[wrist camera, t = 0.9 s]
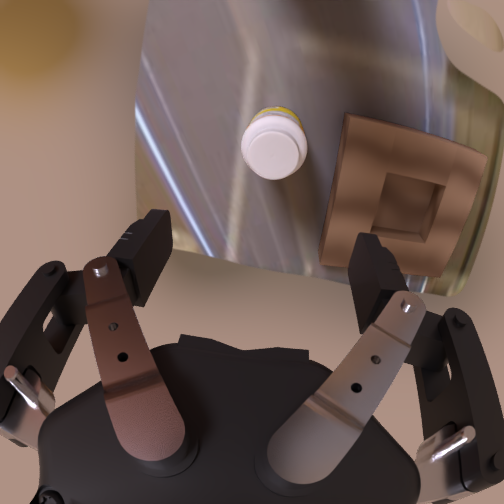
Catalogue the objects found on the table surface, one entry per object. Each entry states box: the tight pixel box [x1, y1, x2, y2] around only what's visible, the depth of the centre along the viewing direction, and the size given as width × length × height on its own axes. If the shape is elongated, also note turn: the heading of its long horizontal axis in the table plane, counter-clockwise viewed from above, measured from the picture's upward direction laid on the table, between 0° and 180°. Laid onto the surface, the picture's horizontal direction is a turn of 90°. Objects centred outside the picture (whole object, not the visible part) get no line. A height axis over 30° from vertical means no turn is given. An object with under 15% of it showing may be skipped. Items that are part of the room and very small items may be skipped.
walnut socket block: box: [318, 113, 488, 278], centre depth 31 cm, size 18×18×3 cm
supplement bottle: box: [241, 106, 307, 180], centre depth 26 cm, size 6×6×10 cm
